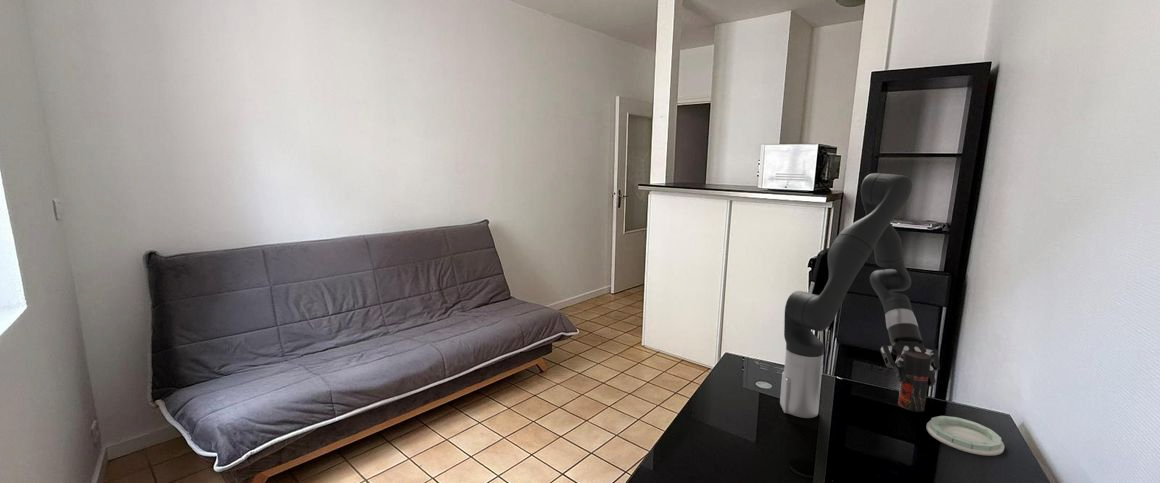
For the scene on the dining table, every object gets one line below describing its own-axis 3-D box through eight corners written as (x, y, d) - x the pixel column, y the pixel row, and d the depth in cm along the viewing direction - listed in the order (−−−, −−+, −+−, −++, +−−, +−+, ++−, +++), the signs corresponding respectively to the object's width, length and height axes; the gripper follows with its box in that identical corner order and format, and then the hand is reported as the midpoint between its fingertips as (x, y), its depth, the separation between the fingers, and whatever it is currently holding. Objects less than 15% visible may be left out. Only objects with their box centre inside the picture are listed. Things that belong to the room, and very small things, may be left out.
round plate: (945, 450, 110) (946, 442, 110) (915, 418, 125) (916, 411, 124) (1019, 459, 107) (1021, 451, 107) (980, 425, 122) (981, 418, 121)
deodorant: (928, 412, 124) (935, 359, 122) (904, 410, 126) (910, 357, 123) (917, 402, 130) (924, 351, 128) (894, 400, 131) (900, 349, 129)
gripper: (879, 319, 134) (892, 376, 124) (936, 324, 130) (954, 382, 121) (870, 331, 139) (882, 386, 130) (924, 336, 136) (941, 392, 127)
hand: (917, 384), depth 125 cm, fingers closed on deodorant, 6 cm apart
